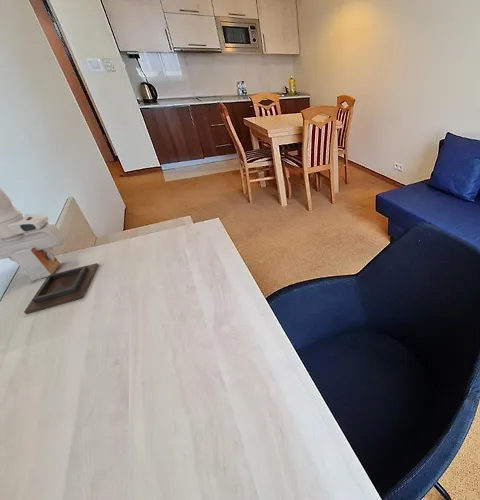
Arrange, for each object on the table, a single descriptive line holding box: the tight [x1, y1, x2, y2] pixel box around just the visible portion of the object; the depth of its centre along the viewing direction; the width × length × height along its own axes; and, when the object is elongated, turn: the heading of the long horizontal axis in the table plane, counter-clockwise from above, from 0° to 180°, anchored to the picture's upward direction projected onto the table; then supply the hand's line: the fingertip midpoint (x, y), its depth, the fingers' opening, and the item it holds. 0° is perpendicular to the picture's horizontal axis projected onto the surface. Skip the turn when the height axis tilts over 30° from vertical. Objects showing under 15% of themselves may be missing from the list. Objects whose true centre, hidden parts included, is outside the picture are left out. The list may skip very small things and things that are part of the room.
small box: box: [10, 247, 61, 281], centre depth 100 cm, size 8×6×10 cm
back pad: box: [23, 262, 100, 315], centre depth 94 cm, size 14×18×2 cm
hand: (39, 262), depth 101 cm, fingers closed on small box, 5 cm apart
